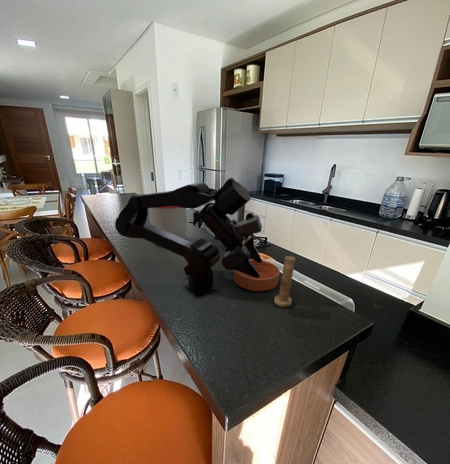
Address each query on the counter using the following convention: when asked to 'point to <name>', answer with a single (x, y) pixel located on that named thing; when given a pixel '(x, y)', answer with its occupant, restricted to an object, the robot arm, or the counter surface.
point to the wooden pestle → (285, 283)
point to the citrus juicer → (169, 219)
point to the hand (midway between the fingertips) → (259, 269)
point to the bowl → (263, 282)
